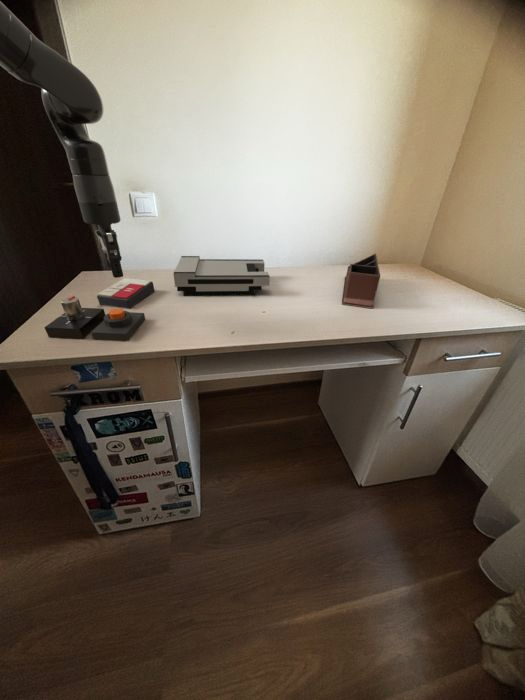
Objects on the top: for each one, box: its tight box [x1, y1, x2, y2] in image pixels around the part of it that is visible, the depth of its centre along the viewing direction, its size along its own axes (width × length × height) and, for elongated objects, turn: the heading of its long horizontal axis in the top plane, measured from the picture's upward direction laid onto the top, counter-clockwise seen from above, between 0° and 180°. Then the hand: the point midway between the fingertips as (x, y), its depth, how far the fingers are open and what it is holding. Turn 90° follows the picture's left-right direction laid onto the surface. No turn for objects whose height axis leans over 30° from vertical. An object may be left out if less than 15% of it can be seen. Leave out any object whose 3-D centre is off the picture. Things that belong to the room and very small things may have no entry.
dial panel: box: [44, 307, 106, 340], centre depth 76 cm, size 12×9×3 cm
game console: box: [173, 255, 271, 297], centre depth 105 cm, size 21×32×8 cm, turn 96°
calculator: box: [96, 277, 156, 309], centre depth 94 cm, size 11×4×15 cm
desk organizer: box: [341, 253, 381, 310], centre depth 104 cm, size 10×29×11 cm, turn 164°
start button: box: [108, 308, 125, 320], centre depth 75 cm, size 4×4×2 cm
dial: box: [60, 295, 84, 321], centre depth 74 cm, size 4×4×5 cm
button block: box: [90, 310, 146, 342], centre depth 76 cm, size 12×9×4 cm
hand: (115, 271), depth 71 cm, fingers open, 8 cm apart
